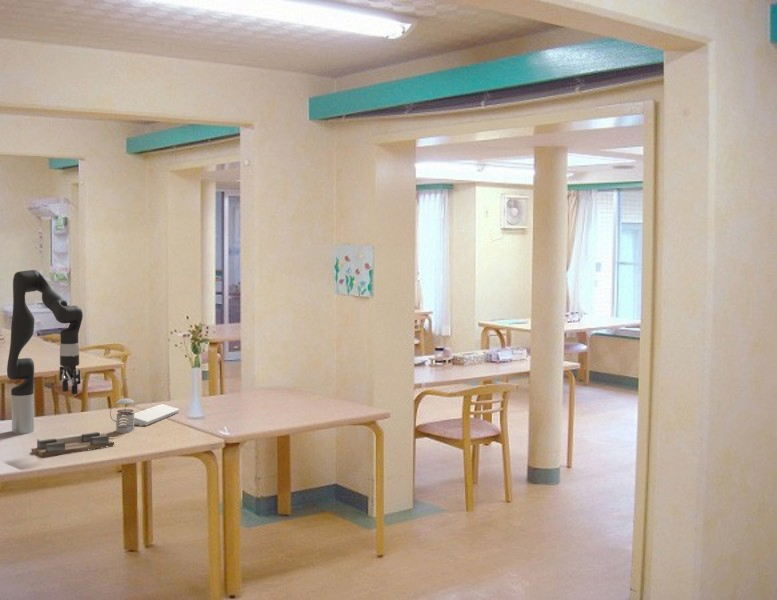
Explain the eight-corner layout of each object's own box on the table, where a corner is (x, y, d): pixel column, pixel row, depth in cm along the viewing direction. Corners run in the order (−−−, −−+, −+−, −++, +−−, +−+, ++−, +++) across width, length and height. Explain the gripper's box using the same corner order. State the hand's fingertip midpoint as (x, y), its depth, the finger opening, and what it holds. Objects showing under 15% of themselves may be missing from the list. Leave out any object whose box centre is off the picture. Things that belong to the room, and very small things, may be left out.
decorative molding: (177, 418, 448) (160, 412, 450) (179, 409, 448) (162, 403, 450) (145, 431, 415) (126, 425, 417) (147, 421, 414) (128, 415, 416)
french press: (136, 433, 401) (136, 378, 400) (109, 434, 398) (109, 379, 397) (136, 429, 411) (136, 375, 409) (110, 430, 408) (109, 376, 406)
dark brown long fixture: (31, 452, 363) (31, 441, 363) (100, 441, 384) (100, 431, 384) (44, 457, 355) (44, 446, 354) (114, 445, 376) (114, 435, 375)
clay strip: (43, 450, 367) (37, 448, 372) (84, 444, 380) (78, 442, 384) (43, 441, 367) (37, 439, 371) (84, 435, 380) (78, 433, 384)
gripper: (53, 353, 371) (53, 391, 372) (68, 356, 361) (68, 396, 362) (70, 351, 376) (70, 389, 377) (86, 355, 366) (86, 394, 367)
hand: (69, 392), depth 370 cm, fingers open, 8 cm apart
